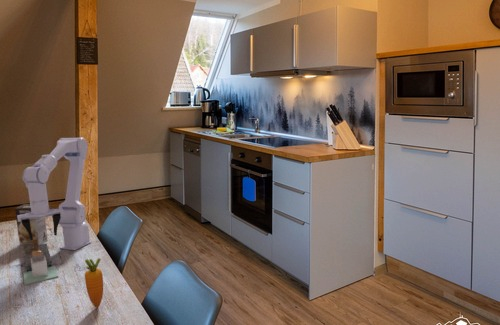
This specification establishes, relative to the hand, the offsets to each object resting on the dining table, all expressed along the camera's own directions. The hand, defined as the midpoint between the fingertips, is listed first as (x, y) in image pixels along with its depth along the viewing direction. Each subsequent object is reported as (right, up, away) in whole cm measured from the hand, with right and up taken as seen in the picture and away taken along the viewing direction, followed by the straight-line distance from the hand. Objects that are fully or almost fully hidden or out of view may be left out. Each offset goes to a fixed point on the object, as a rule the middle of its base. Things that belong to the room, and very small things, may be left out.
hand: (43, 236), depth 148 cm
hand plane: (-5, -10, +6) cm, 13 cm away
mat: (+3, -12, -7) cm, 14 cm away
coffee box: (-16, -7, +24) cm, 30 cm away
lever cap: (+2, -11, -7) cm, 14 cm away
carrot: (+30, -15, -30) cm, 46 cm away
